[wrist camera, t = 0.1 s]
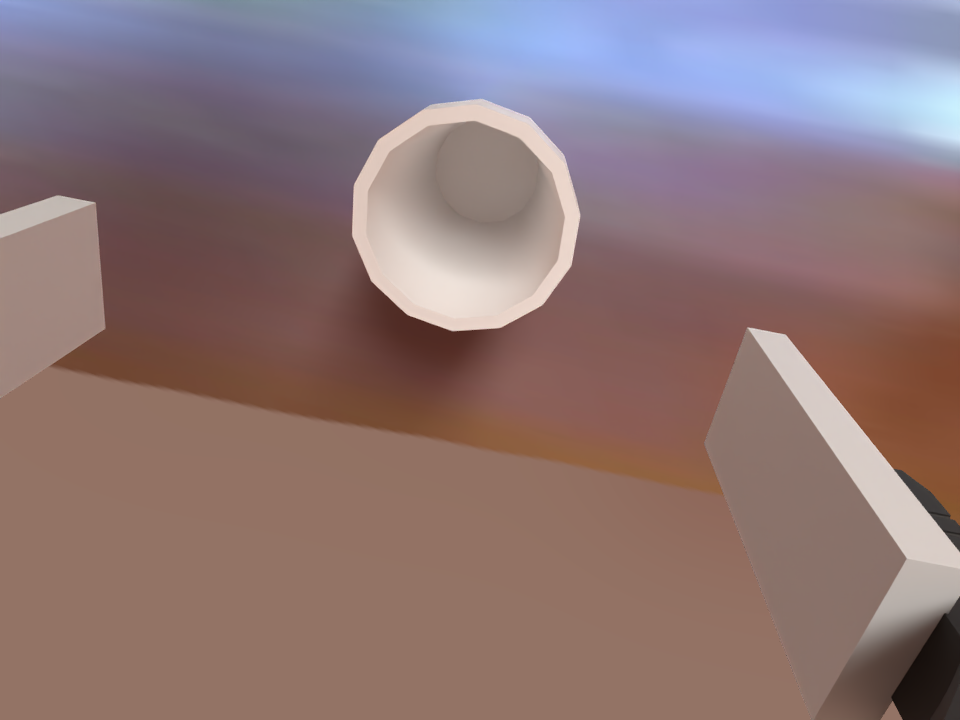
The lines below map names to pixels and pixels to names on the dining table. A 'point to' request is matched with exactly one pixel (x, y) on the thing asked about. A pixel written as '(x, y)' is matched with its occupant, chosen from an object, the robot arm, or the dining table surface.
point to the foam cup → (466, 215)
